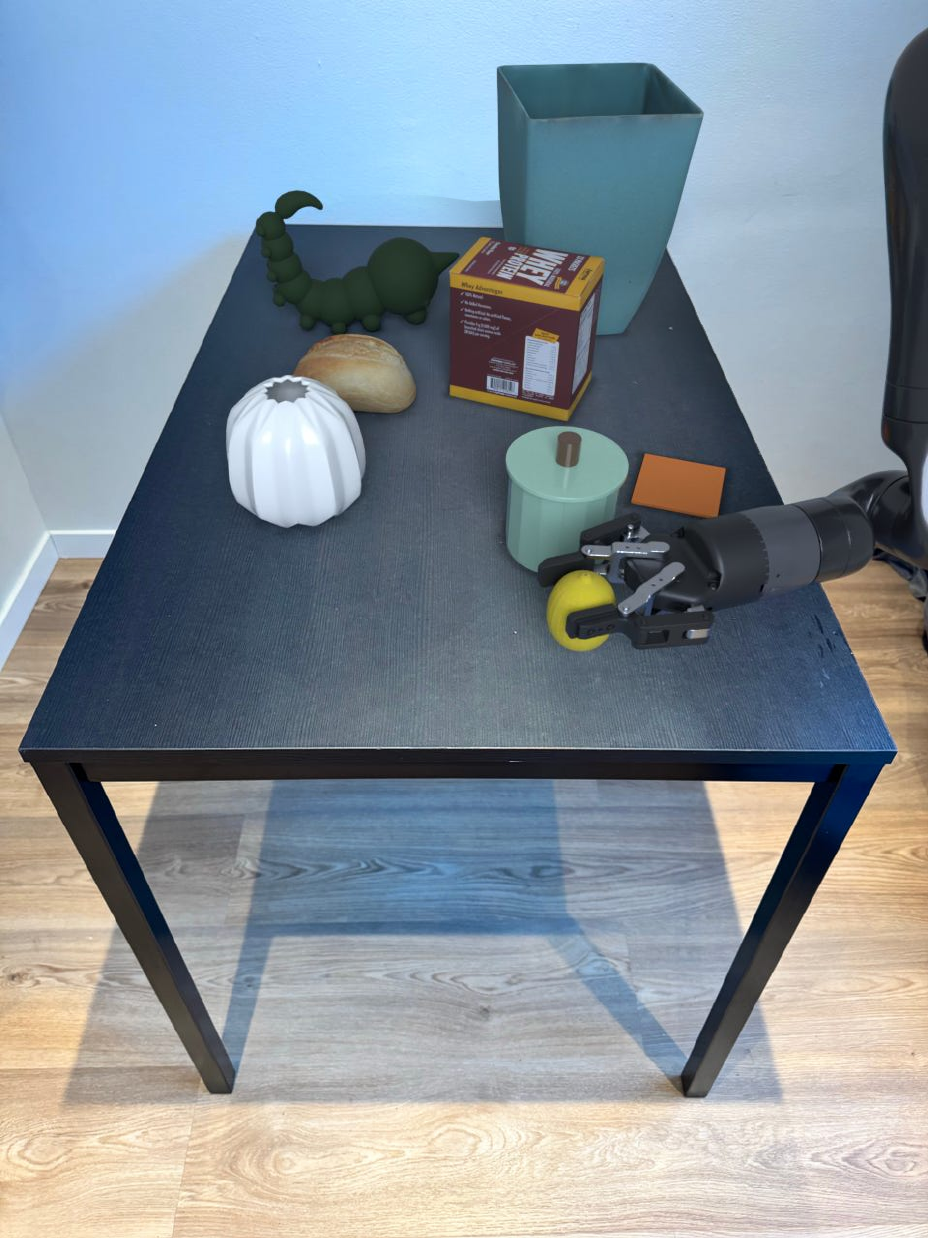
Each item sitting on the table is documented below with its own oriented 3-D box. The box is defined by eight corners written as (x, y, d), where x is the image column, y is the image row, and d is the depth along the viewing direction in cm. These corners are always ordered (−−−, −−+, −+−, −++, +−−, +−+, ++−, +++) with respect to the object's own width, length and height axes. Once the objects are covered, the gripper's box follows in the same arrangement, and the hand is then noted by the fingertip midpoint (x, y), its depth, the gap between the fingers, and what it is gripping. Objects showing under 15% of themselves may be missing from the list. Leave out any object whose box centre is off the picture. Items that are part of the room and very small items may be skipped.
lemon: (587, 614, 76) (597, 543, 70) (623, 657, 72) (636, 585, 66) (531, 635, 74) (536, 563, 68) (565, 679, 70) (573, 608, 65)
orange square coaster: (725, 471, 97) (725, 468, 97) (716, 520, 91) (717, 517, 91) (644, 456, 99) (644, 453, 99) (630, 503, 93) (631, 500, 93)
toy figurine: (284, 358, 116) (470, 330, 117) (248, 212, 102) (458, 182, 104) (283, 324, 122) (459, 298, 124) (248, 182, 109) (447, 155, 110)
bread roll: (295, 383, 109) (287, 323, 103) (416, 382, 109) (414, 322, 103) (288, 427, 102) (278, 365, 96) (416, 426, 102) (415, 364, 97)
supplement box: (476, 356, 114) (480, 234, 103) (591, 380, 110) (607, 256, 99) (446, 395, 107) (446, 270, 96) (567, 422, 103) (582, 295, 92)
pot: (617, 520, 91) (631, 444, 84) (598, 586, 84) (611, 509, 77) (520, 501, 93) (526, 425, 86) (493, 563, 86) (497, 486, 79)
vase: (294, 563, 86) (275, 448, 76) (209, 501, 92) (182, 388, 82) (396, 500, 93) (390, 387, 83) (310, 447, 99) (296, 337, 90)
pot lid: (636, 447, 85) (642, 415, 82) (615, 519, 77) (620, 486, 75) (522, 426, 87) (524, 394, 84) (490, 494, 79) (492, 461, 77)
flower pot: (662, 348, 116) (707, 110, 96) (513, 358, 114) (528, 117, 93) (620, 281, 130) (652, 60, 109) (487, 288, 127) (495, 65, 107)
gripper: (711, 469, 74) (522, 507, 70) (807, 579, 64) (595, 630, 61) (694, 538, 79) (518, 576, 76) (781, 649, 70) (584, 699, 66)
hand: (553, 600), depth 68 cm, fingers closed on lemon, 5 cm apart
